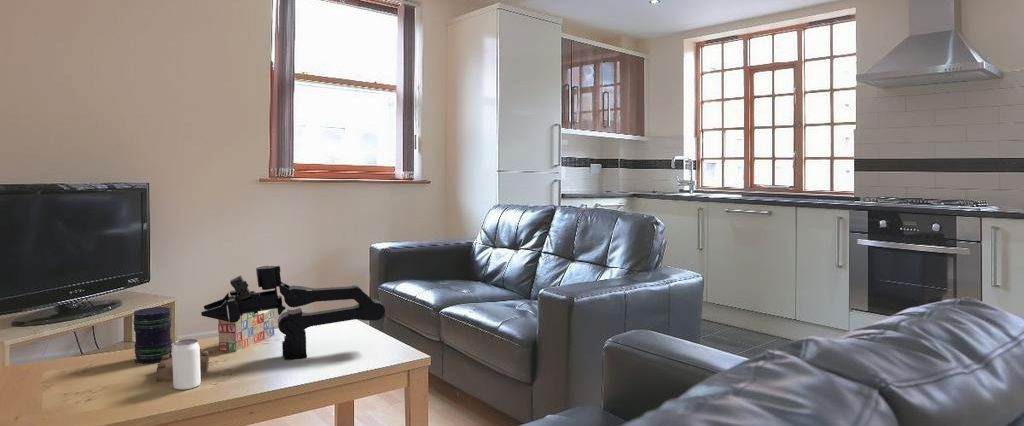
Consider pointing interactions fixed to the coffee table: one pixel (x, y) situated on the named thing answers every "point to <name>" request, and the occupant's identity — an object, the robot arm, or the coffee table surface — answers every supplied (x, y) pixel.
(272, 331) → the stack of blocks
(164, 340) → the storage jar
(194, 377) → the can
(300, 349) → the robot arm
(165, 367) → the base brick
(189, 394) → the coffee table surface
